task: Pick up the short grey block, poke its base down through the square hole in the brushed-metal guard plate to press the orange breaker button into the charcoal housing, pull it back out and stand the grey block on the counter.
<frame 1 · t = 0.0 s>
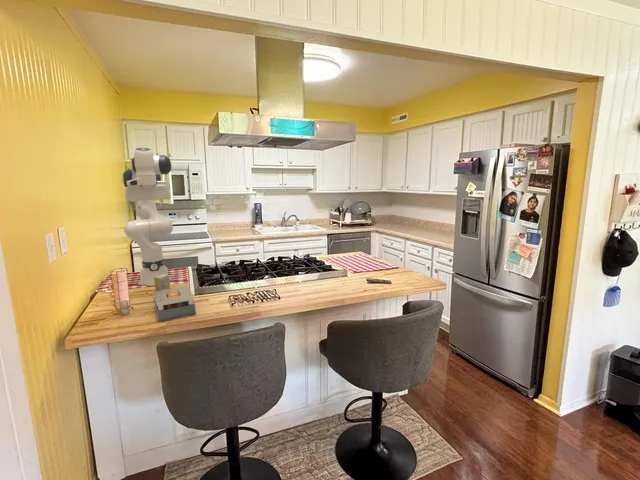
hand: (149, 209, 173), 48 cm above the countertop, fingers open, 8 cm apart
breaker housing: (174, 310, 167), on the countertop
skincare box: (163, 297, 184), on the countertop
breaker button: (173, 297, 165), point 7 cm above the countertop, slide at 0.0 cm
grey block: (125, 314, 163), on the countertop
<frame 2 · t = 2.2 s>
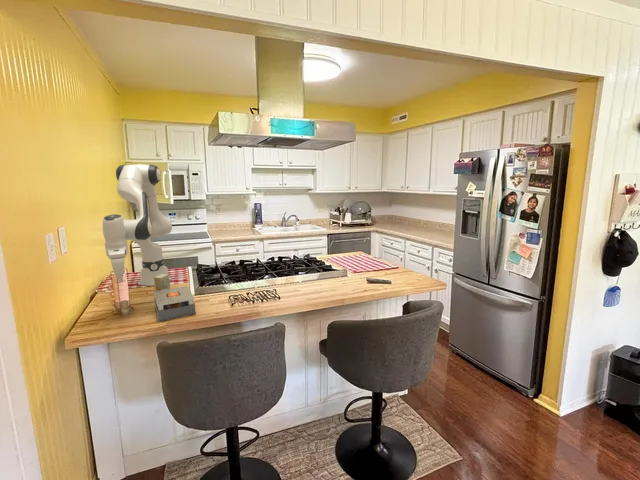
hand: (121, 279, 159), 18 cm above the countertop, fingers open, 8 cm apart
nothing on the countertop moved.
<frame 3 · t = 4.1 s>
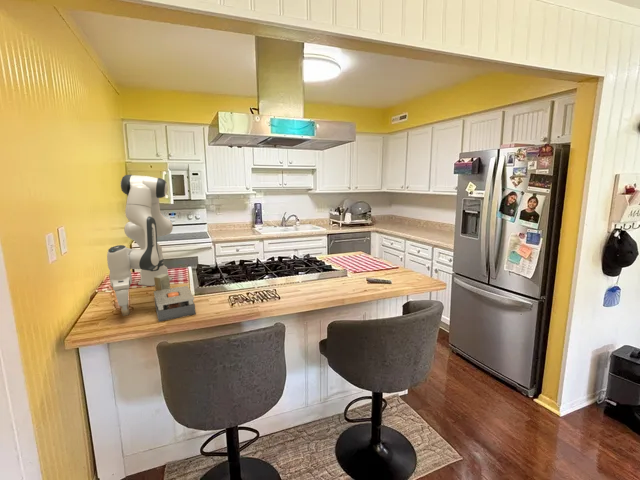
hand: (125, 308, 162), 3 cm above the countertop, fingers closed on grey block, 3 cm apart
grey block: (125, 314, 163), on the countertop, touching gripper
everything else where it was.
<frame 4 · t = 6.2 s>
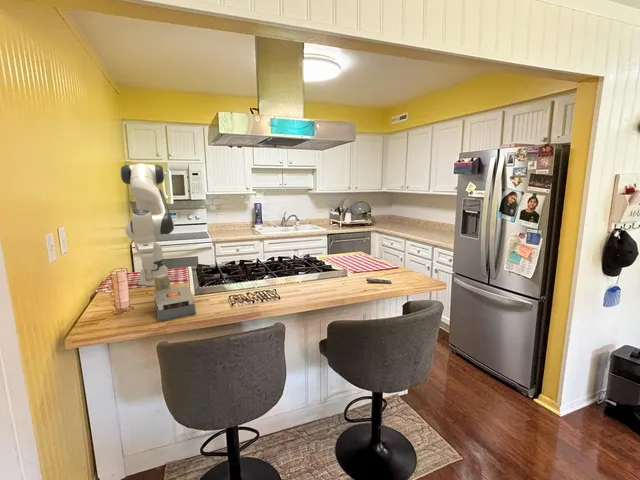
hand: (149, 273, 161), 19 cm above the countertop, fingers closed on grey block, 3 cm apart
grey block: (149, 280, 161), point 16 cm above the countertop, touching gripper
everything else where it was.
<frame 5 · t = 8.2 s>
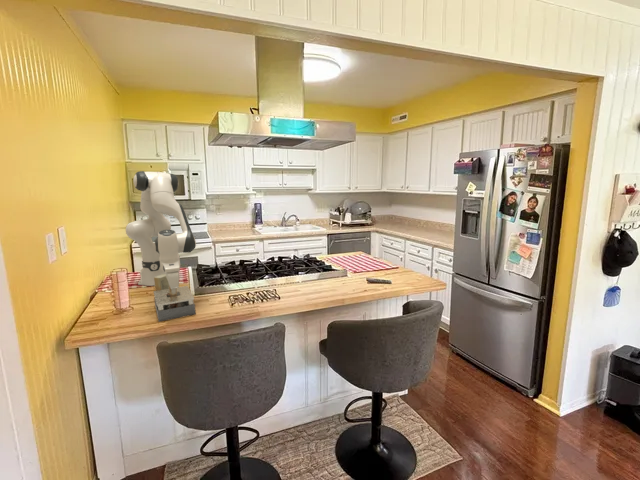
hand: (173, 291, 165), 10 cm above the countertop, fingers closed on grey block, 3 cm apart
breaker button: (174, 301, 166), point 4 cm above the countertop, slide at 2.1 cm, touching grey block
grey block: (173, 297, 165), point 6 cm above the countertop, touching breaker button, gripper
everything else where it was.
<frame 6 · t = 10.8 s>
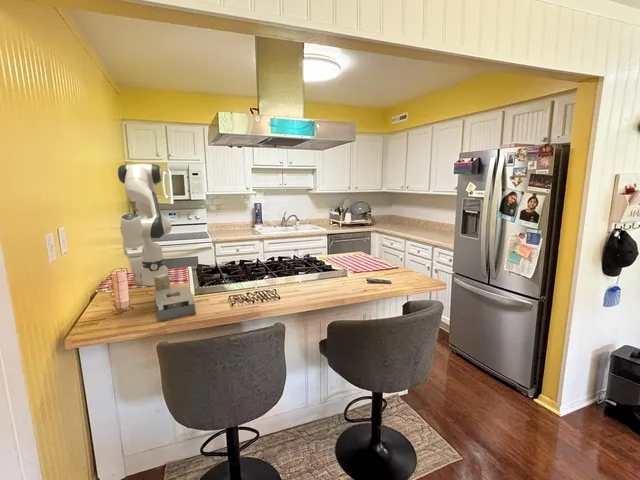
hand: (138, 277, 162), 17 cm above the countertop, fingers closed on grey block, 3 cm apart
breaker button: (174, 301, 166), point 4 cm above the countertop, slide at 2.2 cm
grey block: (138, 283, 162), point 14 cm above the countertop, touching gripper
everything else where it was.
when the fingers open (4 cm above the countertop, at t = 12.9 s): grey block drops 1 cm, on the countertop.
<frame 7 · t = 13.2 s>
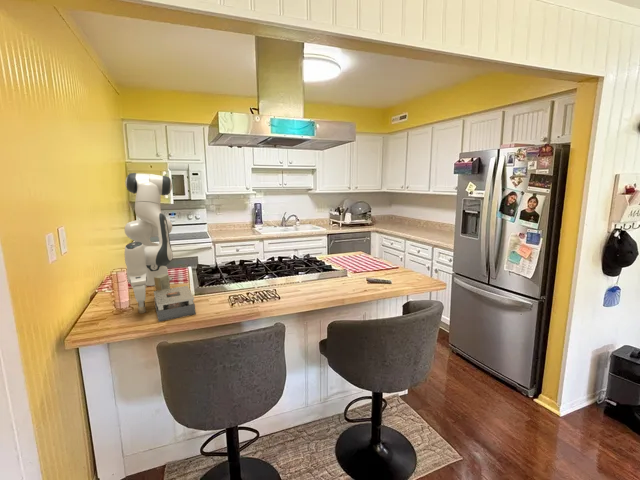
hand: (141, 304, 164), 4 cm above the countertop, fingers open, 6 cm apart
grey block: (142, 311, 165), on the countertop
everything else where it was.
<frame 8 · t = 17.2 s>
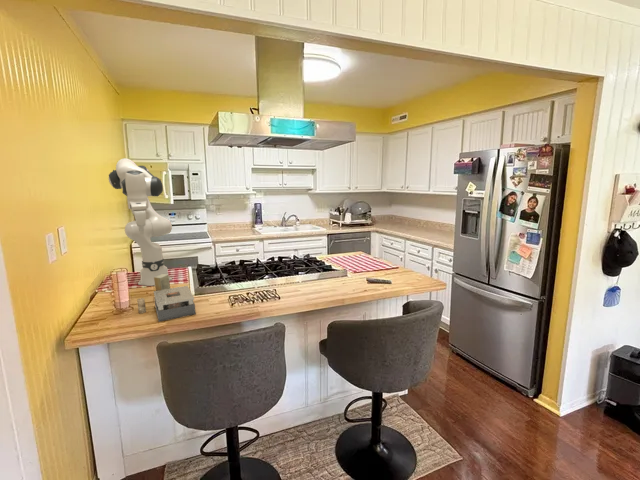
hand: (141, 232, 168), 37 cm above the countertop, fingers open, 8 cm apart
nothing on the countertop moved.
at the end: breaker button slide at 2.2 cm; grey block tilted 0°; the gripper is holding nothing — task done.
